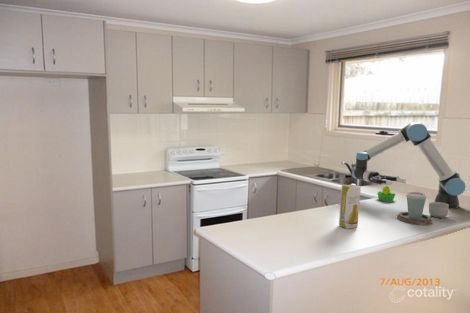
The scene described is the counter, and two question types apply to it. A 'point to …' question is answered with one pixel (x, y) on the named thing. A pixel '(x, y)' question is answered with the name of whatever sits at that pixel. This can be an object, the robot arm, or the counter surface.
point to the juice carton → (349, 206)
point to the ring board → (405, 218)
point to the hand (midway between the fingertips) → (398, 182)
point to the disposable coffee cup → (415, 204)
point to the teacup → (438, 209)
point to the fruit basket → (386, 194)
